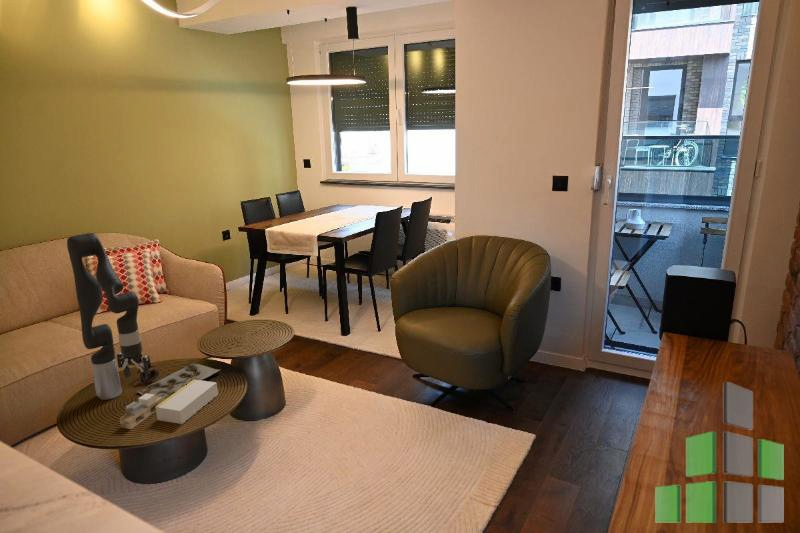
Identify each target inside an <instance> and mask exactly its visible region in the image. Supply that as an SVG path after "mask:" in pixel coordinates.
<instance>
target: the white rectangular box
mask: <svg viewBox="0 0 800 533" xmlns="http://www.w3.org/2000/svg"><path fill="white" fill-rule="evenodd" d="M218 395H219V391H218V383H217V382H214V381H207V380H195V379H194V380H192V381H191V382H189V383H188V384H187V385H185V386H183V387H182V388H181V389H180V390H178V391H177V392H175V393H174V394H173V395H171V396H168V397H169V398H168V397H166V398H167V399H166V398H165V399H166V400H164V401H163V402H162V403H160V404H159V405H157V406H156V407H155V408H156V412H155V414H156V417H157V418H156V419H157V421H160V422H161V421H162V422H168V423H174V424H178V425H183V424H184V423H185V422H186V420H187V421H188V420H189V419H190V418H192V417H193V416H194V415H195V414H196V413H198V412H199V411H200V410H201V409H202V408H204V407H206V405H207V404H208V402H209V403H210V402H211V401H212V400H213V399H215V398H216V397H217V396H218ZM214 397H215V398H214ZM203 406H204V407H203ZM198 410H199V411H198ZM197 411H198V412H197Z"/></svg>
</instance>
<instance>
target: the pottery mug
mask: <svg viewBox="0 0 800 533" xmlns="http://www.w3.org/2000/svg"><path fill="white" fill-rule="evenodd" d="M147 367H148V365H147ZM151 367H152V368H151V369H149V370H148V378H147V379H146V380H142V374H141V372H142V371H141V370H140V369H139V368H138V370H137V372H136V374H138V375H139V377H140V378H138V379H137V382H138V384H152V381H154V380H156V378H157V377H158V376H159V374H160V370H158V369H157V366H156V365H152V364H151ZM142 368H144V367H143V366H142Z"/></svg>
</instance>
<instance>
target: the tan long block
mask: <svg viewBox="0 0 800 533" xmlns="http://www.w3.org/2000/svg"><path fill="white" fill-rule="evenodd" d="M162 397H163V396H162ZM162 397H156V396H155V399H156V402H154V403H153V404H151V405H150V406H148V407H147V406H143V408H144V410H143V411H141V412H140V413H139V414H137V415H136V416H135V415H129V414H127V413H125V414H124V415H122V416H121V417H119V422H120V423H119V424H120V427H121V428H123V429H126V430H127V429H128V430H132V429H134V428H135V427H136V426H138V425H139V424H141V423H142V422H144V421H145V420H147V419H148V418H149V417H150V416H151V415H153V414H155V413H156V408H155V407H156V406H157V405H159V404H160V403H162V402H163V399H162Z"/></svg>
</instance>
